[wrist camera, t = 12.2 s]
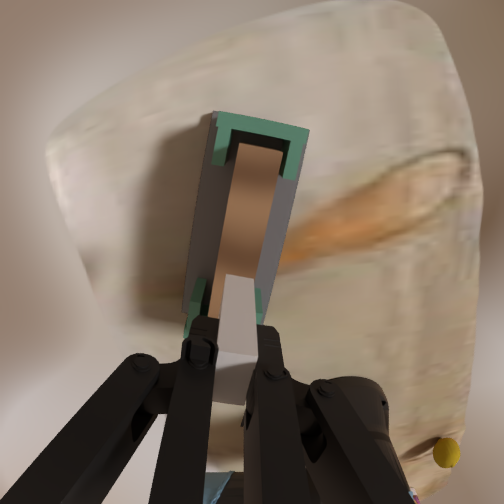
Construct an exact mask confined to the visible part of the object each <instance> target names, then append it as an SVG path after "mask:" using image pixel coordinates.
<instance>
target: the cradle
mask: <svg viewBox="0 0 504 504" xmlns="http://www.w3.org/2000/svg"><path fill="white" fill-rule="evenodd" d="M309 131H310V130H309V129H305V128H301V127H297V126H292V125H288V124H284V123H279V122H274V121H270V120H265V119H260V118H255V117H250V116H245V115H239V114H233V113H228V112H222V111H213V114H212V119H211V124H210V129H209V134H208V140H207V145H206V150H205V156H204V161H203V167H202V172H201V178H200V184H199V190H198V196H197V202H196V208H195V215H194V221H193V228H192V235H191V241H190V249H189V256H188V263H187V271H186V279H185V287H184V295H183V303H182V312H183V313H188V317H187V321H186V324H185V328H184V336H183V338H187V337H188V335H189V331H190V327H191V323H192V320H193V319H194V318H195V317H197V316H198V315H200V316H206V317H208V312H209V306H210V300H211V294H212V288H213V282H214V276H215V270H216V264H217V259H218V253H219V247H220V242H221V236H222V231H223V225H224V220H225V214H226V209H227V204H228V198H229V193H230V188H231V183H232V177H233V172H234V167H235V162H236V157H237V152H238V147H239V143H240V142H244V143H249V144H254V145H259V146H264V147H269V148H274V149H276V150H279V151H281V152H283V156H282V160H281V165H280V169H279V174H278V178H277V183H276V187H275V192H274V196H273V201H272V205H271V210H270V214H269V219H268V223H267V228H266V232H265V237H264V241H263V246H262V250H261V255H260V259H259V263H258V268H257V272H256V277H255V281H254V292H255V309H256V324H259V325H263V323H264V319H265V315H266V311H267V307H268V304H269V300H270V296H271V292H272V288H273V284H274V280H275V276H276V272H277V268H278V264H279V260H280V256H281V252H282V248H283V244H284V240H285V236H286V231H287V227H288V223H289V219H290V215H291V210H292V206H293V202H294V198H295V193H296V189H297V185H298V180H299V176H300V172H301V167H302V163H303V158H304V154H305V149H306V145H307V140H308V136H309Z"/></svg>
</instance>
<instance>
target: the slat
mask: <svg viewBox="0 0 504 504" xmlns="http://www.w3.org/2000/svg"><path fill="white" fill-rule="evenodd" d="M282 156H283V152H281V151H279V150H276V149H274V148H269V147H264V146H259V145H254V144H249V143H244V142H240V143H239V147H238V152H237V157H236V162H235V167H234V172H233V177H232V183H231V188H230V193H229V198H228V204H227V209H226V214H225V220H224V225H223V231H222V236H221V242H220V247H219V253H218V259H217V264H216V270H215V276H214V282H213V288H212V294H211V300H210V306H209V312H208V317H212V318H217V319H218V316H219V310H220V304H221V299H222V293H223V288H224V283H225V277H226V274H229V275H235V276H240V277H246V278H252V279H254V281H255V277H256V272H257V268H258V263H259V259H260V255H261V250H262V246H263V241H264V237H265V232H266V228H267V223H268V219H269V214H270V210H271V205H272V201H273V196H274V192H275V187H276V183H277V178H278V174H279V169H280V165H281V160H282Z"/></svg>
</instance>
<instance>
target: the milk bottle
mask: <svg viewBox="0 0 504 504" xmlns="http://www.w3.org/2000/svg"><path fill="white" fill-rule="evenodd" d="M409 488H410V490H411V491H412V492H413V499H414V502H415V503H416V504H420V502H419V499H418V496H417V494H416V491H415V489H414V488H412V487H409Z"/></svg>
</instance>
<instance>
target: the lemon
mask: <svg viewBox="0 0 504 504" xmlns="http://www.w3.org/2000/svg"><path fill="white" fill-rule="evenodd" d="M433 457H434V460H435V462H436V463H437V464H438V465H439V466H440V467H442V468H450V467H454V466H455V464H456V463H457V462H458V460H459V458H460V449H459V446H458V444H457V442H456V441H455V440H453V439H451V438H443V439H442V438H440V439H439V440H438V442H437V443H436V444H435V446H434V448H433Z"/></svg>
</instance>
